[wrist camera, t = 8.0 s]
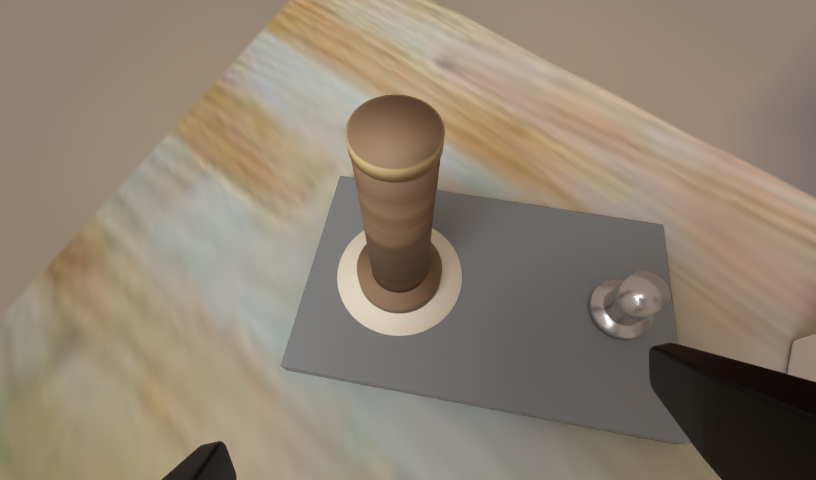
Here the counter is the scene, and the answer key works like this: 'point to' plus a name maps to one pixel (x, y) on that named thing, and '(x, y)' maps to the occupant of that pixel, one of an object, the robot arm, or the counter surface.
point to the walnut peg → (397, 199)
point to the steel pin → (628, 304)
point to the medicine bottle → (803, 358)
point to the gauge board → (494, 315)
